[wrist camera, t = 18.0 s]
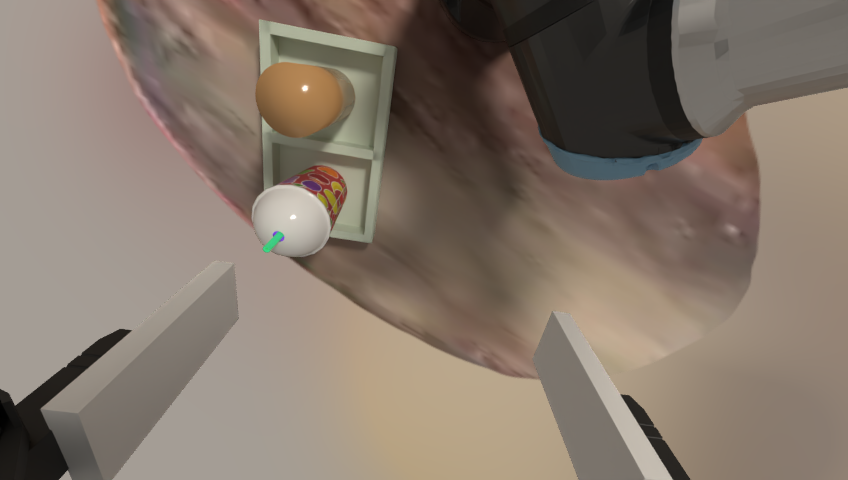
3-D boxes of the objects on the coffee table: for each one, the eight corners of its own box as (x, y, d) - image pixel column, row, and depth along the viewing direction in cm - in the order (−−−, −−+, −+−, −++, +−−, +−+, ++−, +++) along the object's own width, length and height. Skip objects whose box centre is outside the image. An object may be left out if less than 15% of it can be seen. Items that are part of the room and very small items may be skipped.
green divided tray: (271, 24, 41) (258, 19, 38) (397, 49, 42) (395, 46, 39) (274, 217, 52) (265, 226, 49) (374, 233, 53) (371, 243, 50)
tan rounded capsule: (305, 62, 42) (254, 55, 29) (357, 72, 42) (328, 69, 30) (304, 116, 45) (256, 131, 32) (353, 125, 45) (324, 143, 32)
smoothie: (313, 220, 51) (251, 298, 33) (285, 169, 48) (199, 223, 29) (364, 202, 50) (328, 273, 32) (338, 148, 46) (283, 192, 28)
